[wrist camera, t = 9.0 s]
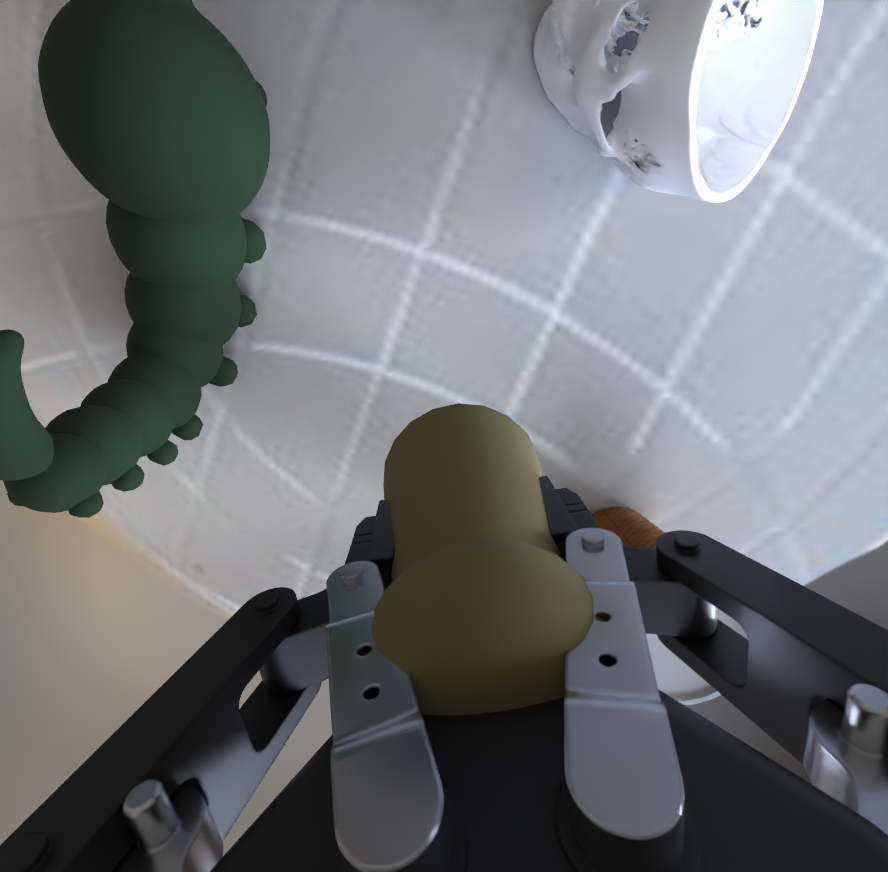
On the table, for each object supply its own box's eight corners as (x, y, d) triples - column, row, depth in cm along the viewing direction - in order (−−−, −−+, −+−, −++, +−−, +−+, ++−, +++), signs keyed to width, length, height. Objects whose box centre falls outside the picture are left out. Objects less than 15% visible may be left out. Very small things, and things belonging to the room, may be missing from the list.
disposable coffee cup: (657, 590, 40) (749, 712, 28) (548, 587, 39) (598, 711, 28) (680, 490, 37) (793, 581, 25) (563, 486, 36) (625, 577, 25)
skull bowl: (572, -124, 24) (831, -258, 15) (674, 76, 33) (871, 63, 24) (470, 84, 26) (641, 70, 18) (592, 215, 36) (743, 248, 27)
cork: (511, 378, 16) (651, 545, 6) (560, 518, 18) (732, 835, 8) (357, 438, 17) (235, 685, 6) (419, 568, 19) (402, 925, 8)
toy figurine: (273, 414, 35) (317, 12, 26) (114, 583, 18) (70, -450, 9) (146, 386, 34) (143, -42, 25) (-151, 537, 17) (-536, -692, 8)
